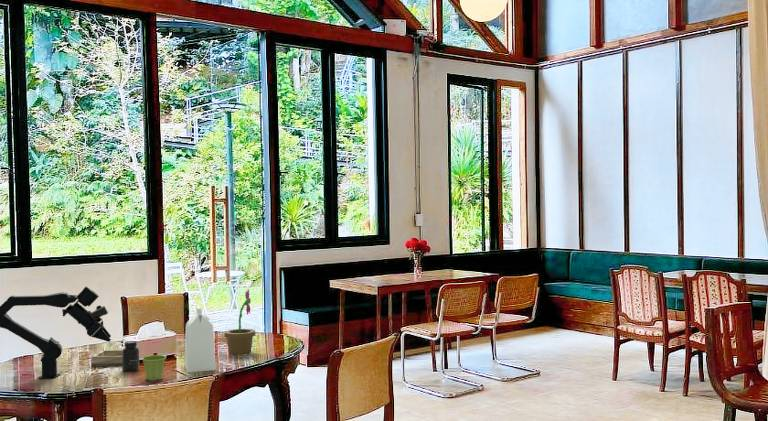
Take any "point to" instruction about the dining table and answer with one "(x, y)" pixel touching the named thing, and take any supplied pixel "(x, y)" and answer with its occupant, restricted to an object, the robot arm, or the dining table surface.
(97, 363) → the box
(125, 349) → the supplement bottle
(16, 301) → the robot arm
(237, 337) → the flowerpot
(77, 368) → the dining table surface
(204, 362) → the milk
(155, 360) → the plant pot
